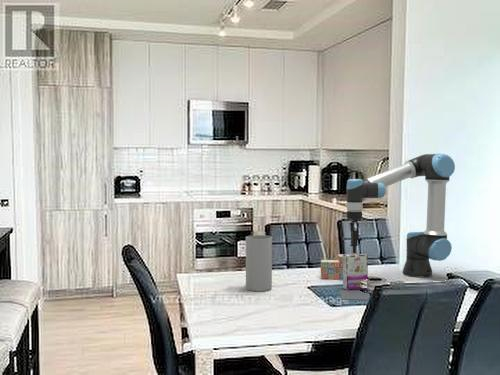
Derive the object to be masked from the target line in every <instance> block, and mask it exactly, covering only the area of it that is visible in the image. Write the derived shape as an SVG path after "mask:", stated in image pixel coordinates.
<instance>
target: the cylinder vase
mask: <svg viewBox="0 0 500 375" xmlns="http://www.w3.org/2000/svg"><path fill="white" fill-rule="evenodd" d="M272 240H273V236H271V235H262V234H258V235H257V234H256V235H255V234H254V235H247V236H245V290H247V291H250V292H259V293H260V292H261V293H262V292H267V291H270V290H272V287H273V285H272V284H273V277H272V276H273V256H272V255H273V250H272V249H273V248H272V247H273V241H272Z"/></svg>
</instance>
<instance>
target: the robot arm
mask: <svg viewBox="0 0 500 375" xmlns="http://www.w3.org/2000/svg"><path fill="white" fill-rule="evenodd" d="M455 168H456V164H455V161H454V159H453V158H452V156H450V155H449V154H445V153H428V154H427V153H426V154H425V153H424V154H420V155H419V156H416V157H413V158H411V159H409V160H407V161H405V162H404V163H403V164H401V165H398V166H396V167H393V168H391V169H387V170H386V171H383V172H380V173H378V174H376V175H373V176H369V177H368V178H365V179H361V178H349V179H348V180H347V182H346V187H345V188H346V203H345V206H346V219H347V220H351V222H349V227H350V230H349V231H350V245H349V246H350V254H358V246H359V242H358V241H359V227H360V223H359V222H358V220H362V219H363V206H364V205H363V204H364V203H363V199H382V198H384V196H385V195H386V193H387V192H386V190H387V189H386V187H388V186H392V185H394V184H396V183H399V182H402V181H404V180H407V179H414V178H417V177H425V178H424V180H425V181H426V183H427V202H426V203H427V206H426V229H425V231H409V232H408V233H407V234H406V239H405V240H406V260H405V262H404V265H403V268H402V274H403V275H405V276H408V277H412V278H413V277H415V278H428V277H431V276H433V268H432V266H431V265H432V264H431V262H430V260H432V261H438V262H440V261H441V262H442V261H444V260H446V259H447V258H448V257H449V256H450V255H451V252H452V247H453V246H452V243H451V242H450V240H448V233H447V232H446V231H445V220H446V216H445V215H446V194H447V192H446V191H447V184H448V183H449V182H450V177H451V176H452V175H453V173H455Z"/></svg>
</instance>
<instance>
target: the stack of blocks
mask: <svg viewBox="0 0 500 375" xmlns="http://www.w3.org/2000/svg"><path fill="white" fill-rule="evenodd" d="M343 255H348V253H347V254H346V253H345V254H342V253H341V254H337V259H320V278H321V280H337V281H340V280H341V281H343Z"/></svg>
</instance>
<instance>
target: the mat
mask: <svg viewBox="0 0 500 375" xmlns="http://www.w3.org/2000/svg"><path fill="white" fill-rule="evenodd" d="M360 290H361V289H358V290H346V289H338V292H339V295H340V299H341V300H343V301H345V300H346V301H370V300H369V297H370V294H369V293H364V292H362V291H360Z"/></svg>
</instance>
